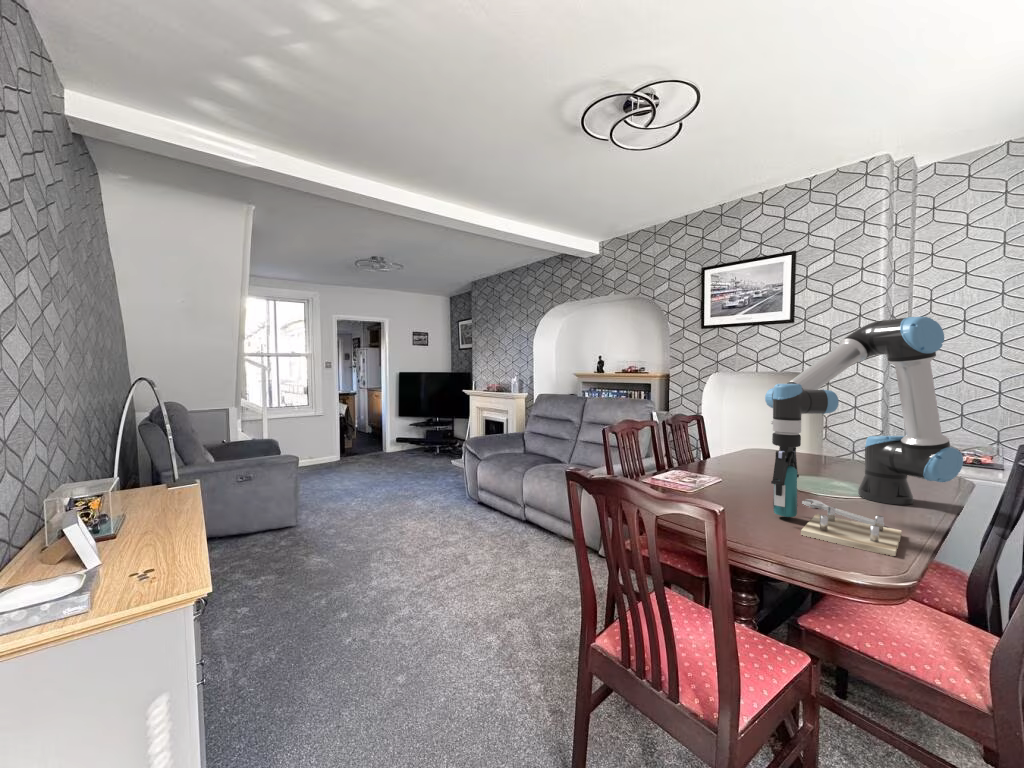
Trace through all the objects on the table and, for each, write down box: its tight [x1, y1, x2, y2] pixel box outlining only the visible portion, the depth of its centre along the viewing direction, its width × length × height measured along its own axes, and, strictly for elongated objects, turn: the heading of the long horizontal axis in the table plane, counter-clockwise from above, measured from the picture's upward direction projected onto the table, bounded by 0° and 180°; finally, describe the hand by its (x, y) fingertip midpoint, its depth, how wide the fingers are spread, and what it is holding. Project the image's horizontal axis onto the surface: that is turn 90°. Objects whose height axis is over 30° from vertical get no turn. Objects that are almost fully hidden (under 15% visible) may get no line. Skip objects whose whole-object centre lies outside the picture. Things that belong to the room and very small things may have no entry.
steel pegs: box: [820, 506, 885, 543], centre depth 122 cm, size 13×13×4 cm
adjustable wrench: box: [801, 498, 885, 527], centre depth 140 cm, size 25×6×2 cm, turn 13°
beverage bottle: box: [772, 457, 799, 518], centre depth 136 cm, size 6×7×20 cm
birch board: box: [800, 513, 903, 557], centre depth 122 cm, size 20×20×2 cm
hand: (785, 501), depth 136 cm, fingers open, 12 cm apart
